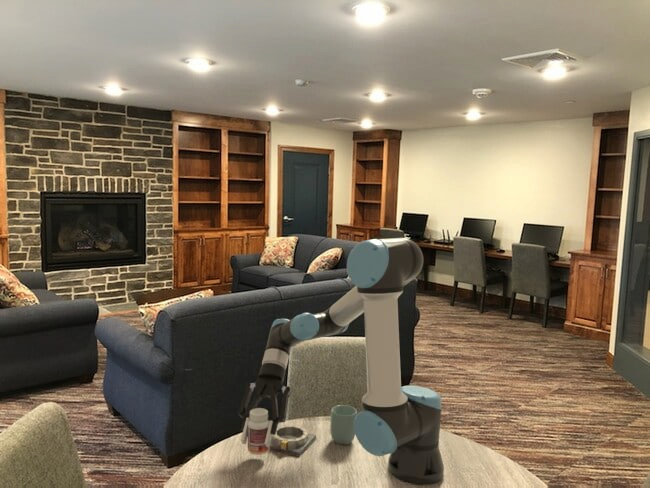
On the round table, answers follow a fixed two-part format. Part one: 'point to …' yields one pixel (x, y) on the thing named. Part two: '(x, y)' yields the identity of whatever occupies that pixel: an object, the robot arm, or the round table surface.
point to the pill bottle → (258, 431)
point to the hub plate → (293, 450)
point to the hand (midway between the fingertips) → (255, 443)
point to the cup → (343, 424)
